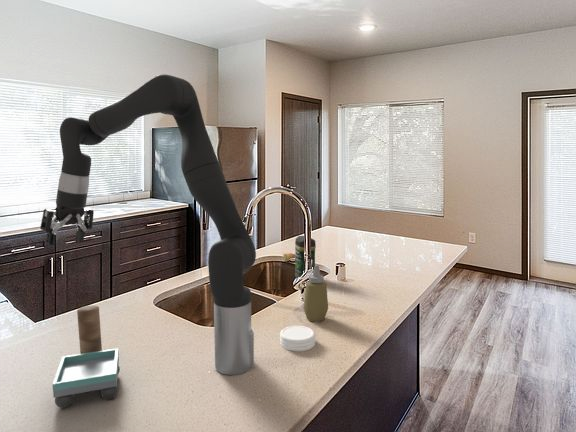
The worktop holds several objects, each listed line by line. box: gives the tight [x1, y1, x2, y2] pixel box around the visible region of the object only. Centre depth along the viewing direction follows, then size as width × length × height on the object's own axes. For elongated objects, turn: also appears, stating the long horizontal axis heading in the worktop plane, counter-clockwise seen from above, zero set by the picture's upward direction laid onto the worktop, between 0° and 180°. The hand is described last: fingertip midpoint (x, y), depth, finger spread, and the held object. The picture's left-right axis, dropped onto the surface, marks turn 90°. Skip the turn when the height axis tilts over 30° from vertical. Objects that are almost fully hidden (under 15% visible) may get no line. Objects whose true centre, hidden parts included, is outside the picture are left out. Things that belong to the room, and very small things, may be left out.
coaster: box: [279, 325, 316, 352], centre depth 115 cm, size 10×10×4 cm
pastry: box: [282, 252, 295, 263], centre depth 203 cm, size 9×7×4 cm
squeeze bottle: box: [303, 264, 329, 323], centre depth 131 cm, size 8×8×18 cm
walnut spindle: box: [76, 305, 103, 354], centre depth 104 cm, size 5×5×14 cm
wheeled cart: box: [52, 348, 121, 409], centre depth 91 cm, size 12×12×6 cm
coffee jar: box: [294, 235, 317, 279], centre depth 172 cm, size 10×8×19 cm
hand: (65, 244), depth 116 cm, fingers open, 8 cm apart
